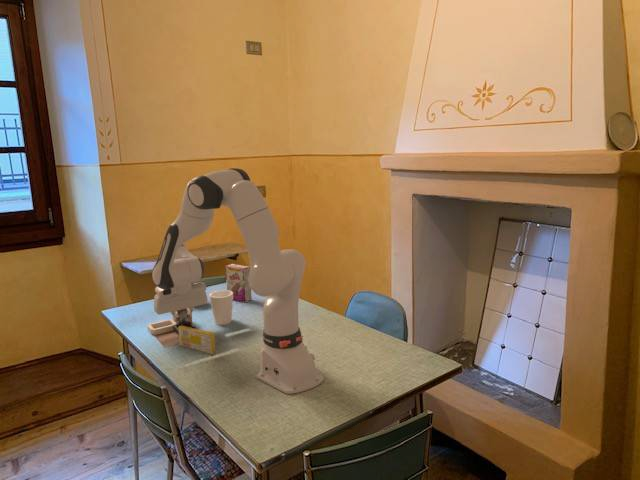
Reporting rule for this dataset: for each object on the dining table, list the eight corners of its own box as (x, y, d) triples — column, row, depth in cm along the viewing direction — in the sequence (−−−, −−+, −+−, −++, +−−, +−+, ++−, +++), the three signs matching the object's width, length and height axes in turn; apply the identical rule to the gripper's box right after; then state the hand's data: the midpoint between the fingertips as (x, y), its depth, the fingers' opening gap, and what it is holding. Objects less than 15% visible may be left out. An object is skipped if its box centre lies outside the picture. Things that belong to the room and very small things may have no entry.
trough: (178, 329, 187) (177, 324, 186) (152, 335, 181) (151, 330, 181) (172, 323, 193) (171, 318, 193) (147, 329, 188) (146, 324, 187)
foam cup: (237, 319, 198) (235, 290, 195) (231, 328, 189) (229, 297, 186) (215, 319, 198) (213, 290, 196) (208, 328, 189) (206, 297, 187)
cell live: (189, 326, 185) (188, 309, 183) (180, 329, 183) (179, 311, 181) (186, 323, 187) (184, 306, 186) (177, 326, 185) (175, 308, 184)
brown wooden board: (207, 338, 179) (206, 331, 179) (164, 350, 171) (164, 342, 170) (187, 321, 197) (186, 314, 196) (148, 330, 188) (147, 323, 188)
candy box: (216, 354, 167) (214, 332, 165) (212, 356, 165) (210, 334, 163) (183, 345, 175) (181, 324, 173) (179, 347, 173) (177, 326, 171)
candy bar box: (227, 299, 223) (224, 265, 219) (234, 296, 227) (232, 263, 223) (245, 303, 217) (243, 268, 213) (252, 299, 221) (250, 266, 217)
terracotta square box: (192, 324, 191) (191, 310, 190) (178, 328, 188) (176, 313, 187) (187, 319, 196) (186, 306, 195) (173, 323, 193) (171, 309, 191)
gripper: (202, 278, 189) (205, 310, 193) (150, 288, 178) (154, 323, 181) (208, 282, 184) (211, 315, 187) (155, 293, 173) (159, 328, 176)
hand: (182, 319), depth 184 cm, fingers closed on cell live, 4 cm apart
